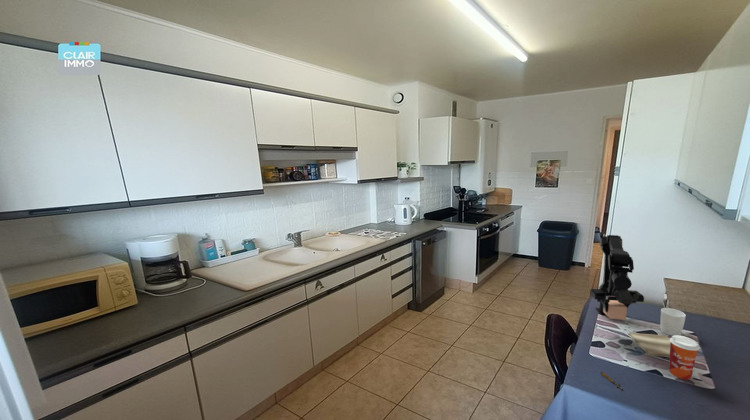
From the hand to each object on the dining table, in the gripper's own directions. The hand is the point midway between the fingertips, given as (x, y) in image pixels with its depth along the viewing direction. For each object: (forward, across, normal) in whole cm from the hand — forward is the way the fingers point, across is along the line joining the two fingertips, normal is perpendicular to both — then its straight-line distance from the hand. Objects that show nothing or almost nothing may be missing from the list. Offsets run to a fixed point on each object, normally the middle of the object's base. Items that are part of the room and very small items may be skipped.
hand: (614, 312), depth 133 cm
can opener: (+12, -15, -32) cm, 37 cm away
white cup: (+11, +26, +5) cm, 28 cm away
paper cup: (+11, +11, -24) cm, 28 cm away
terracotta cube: (+2, 0, 0) cm, 2 cm away
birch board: (+11, +14, -7) cm, 19 cm away
